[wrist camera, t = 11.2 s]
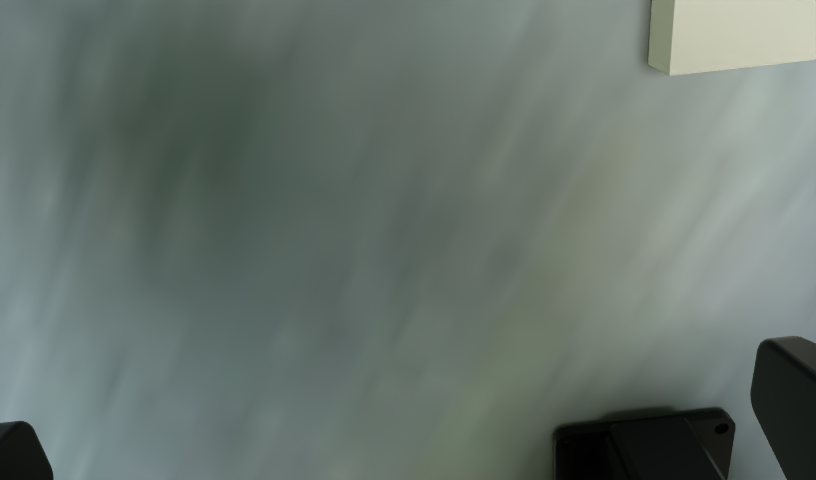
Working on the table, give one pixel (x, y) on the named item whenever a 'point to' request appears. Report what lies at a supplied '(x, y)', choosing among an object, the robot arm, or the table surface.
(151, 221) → the table surface
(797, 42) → the base plate
